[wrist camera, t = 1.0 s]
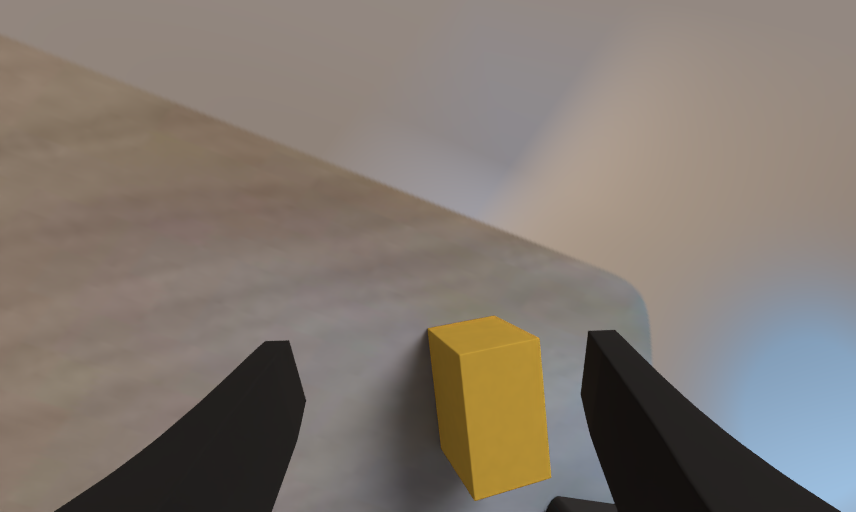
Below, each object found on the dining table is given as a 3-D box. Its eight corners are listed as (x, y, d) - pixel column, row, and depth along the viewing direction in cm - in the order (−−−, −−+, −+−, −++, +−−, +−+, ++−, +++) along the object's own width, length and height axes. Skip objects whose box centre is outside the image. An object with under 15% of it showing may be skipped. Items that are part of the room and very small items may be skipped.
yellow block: (505, 431, 27) (551, 478, 22) (440, 449, 26) (474, 501, 21) (494, 315, 26) (539, 338, 22) (427, 328, 25) (458, 354, 21)
